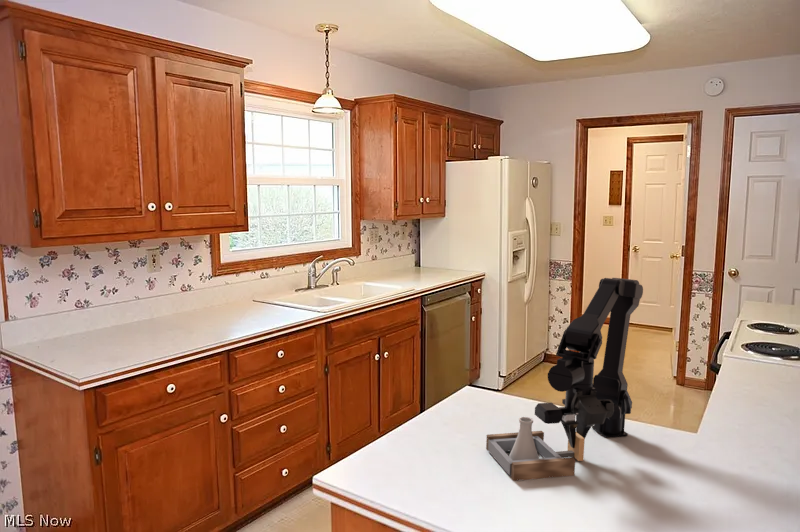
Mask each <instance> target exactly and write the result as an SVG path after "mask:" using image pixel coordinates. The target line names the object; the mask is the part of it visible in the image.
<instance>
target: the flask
mask: <svg viewBox="0 0 800 532" xmlns="http://www.w3.org/2000/svg"><path fill="white" fill-rule="evenodd" d="M518 421H519V429H518V432H519V433H518V436H517V439H516V441H515V444H514V446H513V448H512V450H511V451H510V453H509V455H508V456H509V457H510V458H511V459H512V460H513V461H516V460H528V459H540V458H539V453H538V452H537V450H536V447H535V444H534V440H533V436H532V431H533V429H532V428H533V427H532V425H533V423H534V419H533V418H531V417H528V416H521V417H519V418H518Z"/></svg>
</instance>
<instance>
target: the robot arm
mask: <svg viewBox="0 0 800 532" xmlns="http://www.w3.org/2000/svg"><path fill="white" fill-rule="evenodd" d="M643 295H644V287H643V284H640V282H639V280H638V279H628V278H620V277H603V278H601V279H600V281H599V283H598V288H597V290H596V291H595V293H594V294H593V297H592V299H590V302H589V303H588V305H587V306H586V309H585V311H584V313H582V315H581V316H579V317H577V318H574V319H573V320H572V321H571V322H570V323H569V324H568V326H567V327H566V328H565V330H564V331H563V334H562V335H561V339H560V342H559V345H558V347H557V350H556V353H555V356H556V357H561V358H558V359H557V360H556V364H554V365H553V366H551V367H550V369H549V371H548V372H547V381H548V383H549V386H551V388H553V389H554V390H555V391H557V392H562V393H563V392H564V393H565V398H562V403H561V404H563V405H564V406H561V407H560V406H557V405H555V403H553V402H540V403H539V402H538V403H537V404H536V406H535V407H534V415H535V416H536V417H537V418H538V419H540V420H541V421H542V422H543V423H544V424H550V425H551V424H559V423H561V425H562V427H563V429H564V432H565V435H566V437H567V441H568V440H569V443H570V446H571V447H572V448H575V439H576V432H577V433H578V434H580V435H581V436H582V437H583V438H585V439H586V437H587V436H588V433H589V431H590V429H593V430H594V431H596V432H597V433H598V434H600V435H601V436H603V438H616V437H627V436H628V435H629V433H628V432H627V431H625V426H626V425H625V424H626V423H625V421H626V415H630V414H632V408H633V400H632V398H631V396H630V393H629V392H628V381H627V379H626V377H625V374H624V372H623V371H624V363H625V357H626V350H627V349H626V348H627V342H628V334H629V329H630V322H631V321H630V320H631V315H632V314H633V313H634V311H636V309H637V308H638V307H639V305H640V300H641V299H642V298H643ZM609 314H610V316H609ZM608 316H609V321H608V330H607V334H606V335H607V336H606V343H605V349H604V350H605V351H604V356H603V357H604V358H603V363H602V364H603V365H602V369H601V370H600V371H599V372H598V374H594V369H595V360H596V359H597V356H598V354H599V351H600V349H601V347H602V344H603V335H602V331H601V330H602V327H603V325H604V324H605V322H606V320H607V318H608Z"/></svg>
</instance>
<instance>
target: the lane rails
mask: <svg viewBox="0 0 800 532" xmlns="http://www.w3.org/2000/svg"><path fill="white" fill-rule="evenodd" d="M518 433H519V431H518V432H508V433H507V432H505V433H493V434H486V441H485V442H486V444H485V446H486V447H485V449H486V451H487V452H489V451H488V440H492V439H505V438H517V436H518ZM532 436H538V437H539V438H541V439H542V440H543V441H544V439H545V432H544V431H542V430H535V431H534V430H532ZM544 442H545V441H544ZM575 467H576V458H574V457H567V458H558V459H547V460H535V461H523V462H512V469H511V475H510V479H511V480H512V482H516V481H517V482H518V481H525V480H526V481H527V480H537V479H548V478H560V477H561V478H562V477H573V476H575V474H576V473H575V471H576V468H575Z"/></svg>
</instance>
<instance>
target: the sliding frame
mask: <svg viewBox="0 0 800 532" xmlns="http://www.w3.org/2000/svg"><path fill="white" fill-rule="evenodd" d="M516 439H517V438H505V439H492V440H488V451H487V452H489V454H490V455H491V456H492V457H493V458H494V459H495V461H496V462H497V463H498V464H499V465H500V466H501V467H502V469H503V470H504V471H505V472H506V473H507V474H508V476H511V469H512V462H523V461H535V460H547V459H558V458H570V457H573V458H574V459H575V460H577V461H578V462H580V461H582V462H583V461H584V459H585V454H584V453H585V451H584V450H585V442H586V441H585V439H586V437H585V438H583V437H582V436H581V435H580V434H578V433H577V432H576V439H575V448H572V447H571V446H570V443H569V440H568V439H567V450H561V451H560V450H559V451H558V450H557V451H555V449H553V448H552V447H551V446H549V444H547V443H546V442H545V441H543V440H542V439H541V438H539V437H538V436H533V440H534V444H535V447H536V450H537V453H538V455H541V456H542V458H541V457H540V458H539V459H528V460H516V461H513V460H512V459H511V458H510V457H509V455H508V454H507V452H511V450H512V448H513V446H514V444H515V441H516Z"/></svg>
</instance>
